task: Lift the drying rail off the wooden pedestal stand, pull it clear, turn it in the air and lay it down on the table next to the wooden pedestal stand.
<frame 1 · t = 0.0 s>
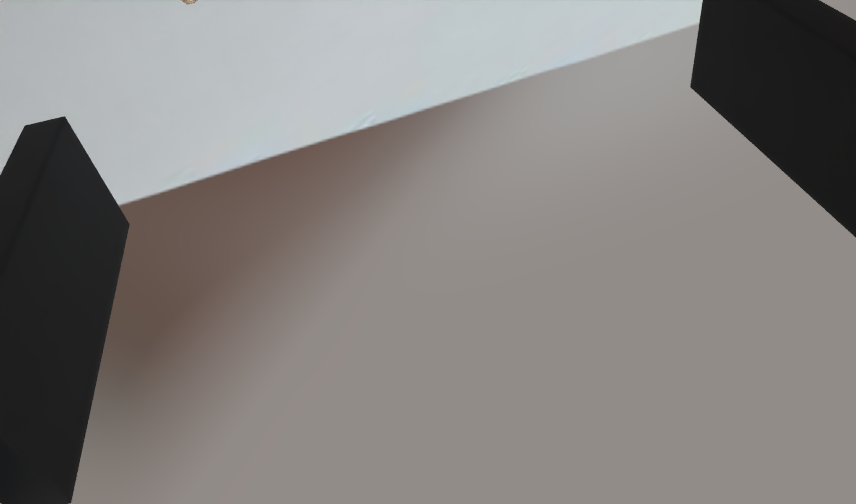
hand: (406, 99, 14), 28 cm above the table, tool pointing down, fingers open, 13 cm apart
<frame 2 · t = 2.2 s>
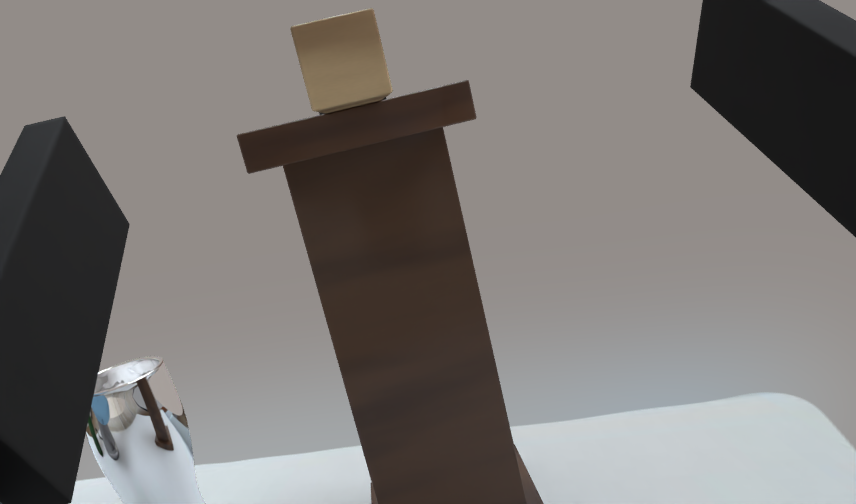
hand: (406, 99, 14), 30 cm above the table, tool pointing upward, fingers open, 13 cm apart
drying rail: (353, 107, 34), point 30 cm above the table, touching wooden pedestal stand
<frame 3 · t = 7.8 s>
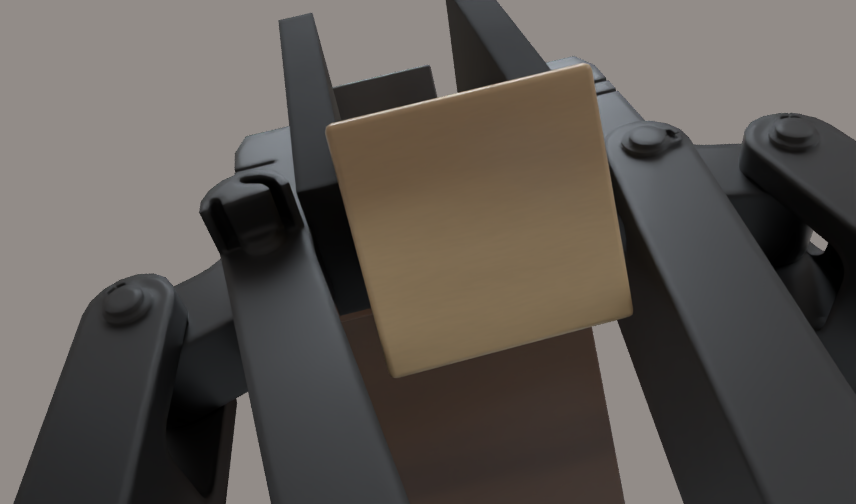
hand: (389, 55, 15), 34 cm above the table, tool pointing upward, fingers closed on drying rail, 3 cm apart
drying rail: (421, 216, 18), point 30 cm above the table, touching wooden pedestal stand, gripper
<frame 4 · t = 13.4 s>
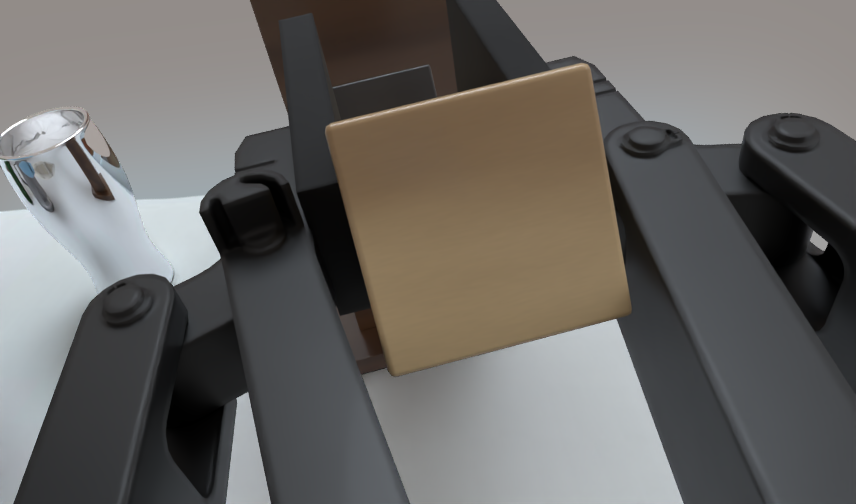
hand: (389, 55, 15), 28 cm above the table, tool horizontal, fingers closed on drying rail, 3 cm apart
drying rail: (421, 215, 18), point 23 cm above the table, tilted 29°, touching gripper
wooden pedestal stand: (414, 286, 49), on the table
beer glass: (139, 286, 55), on the table
when the fingers open (10 cm above the table, at t = 19.0 s): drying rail drops 5 cm, on the table.
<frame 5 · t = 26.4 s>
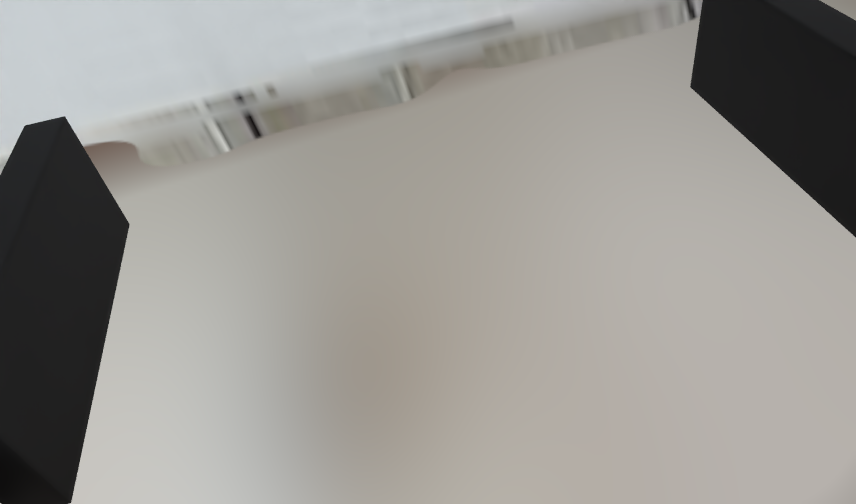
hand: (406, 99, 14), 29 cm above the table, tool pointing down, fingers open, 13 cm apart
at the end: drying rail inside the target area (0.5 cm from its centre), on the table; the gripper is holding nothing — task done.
